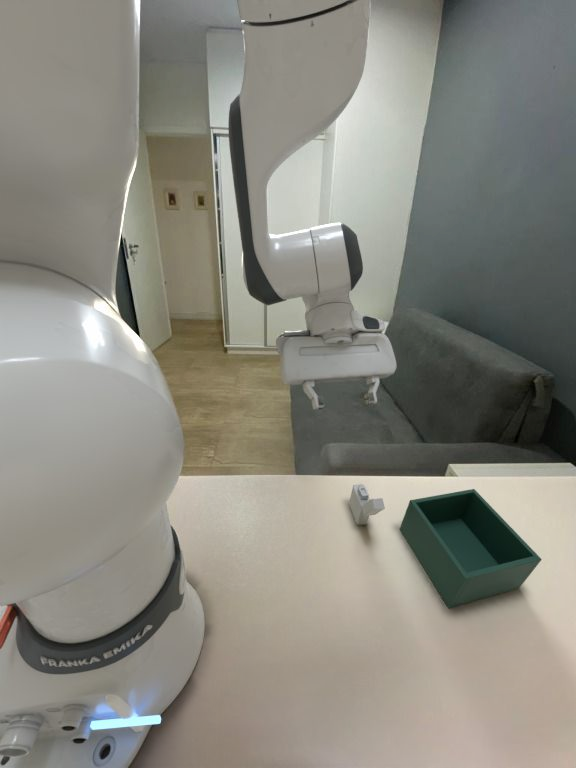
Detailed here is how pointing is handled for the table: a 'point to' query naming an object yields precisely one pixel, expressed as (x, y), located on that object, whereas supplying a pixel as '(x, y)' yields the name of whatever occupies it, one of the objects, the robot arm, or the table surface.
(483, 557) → the bin
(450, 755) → the table surface
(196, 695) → the table surface
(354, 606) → the table surface
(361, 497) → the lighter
